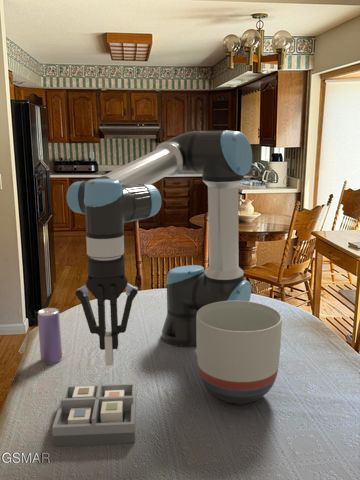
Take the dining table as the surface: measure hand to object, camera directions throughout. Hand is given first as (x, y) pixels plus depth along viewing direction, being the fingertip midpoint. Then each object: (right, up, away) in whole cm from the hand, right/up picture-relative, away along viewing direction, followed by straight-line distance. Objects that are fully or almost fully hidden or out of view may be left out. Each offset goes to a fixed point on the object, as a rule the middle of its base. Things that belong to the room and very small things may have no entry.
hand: (109, 362), depth 102 cm
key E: (-7, -12, +9) cm, 17 cm away
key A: (0, -13, +10) cm, 17 cm away
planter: (+29, -13, +17) cm, 36 cm away
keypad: (-4, -15, +7) cm, 17 cm away
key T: (-7, -15, +3) cm, 17 cm away
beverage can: (-22, -9, +36) cm, 43 cm away
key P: (0, -13, +3) cm, 14 cm away
